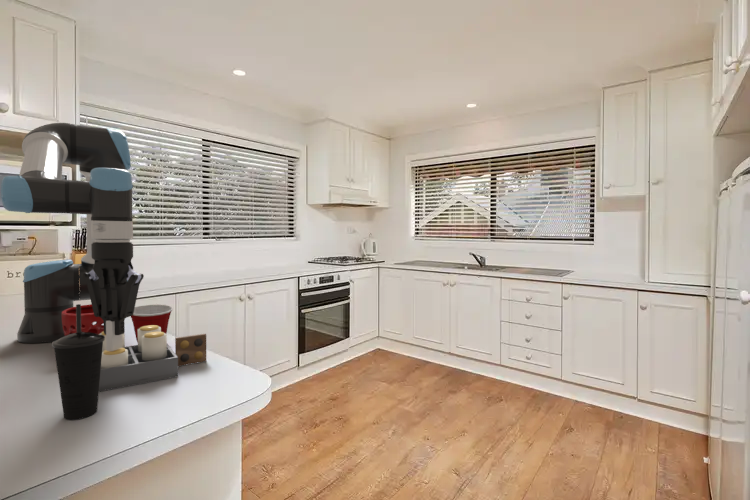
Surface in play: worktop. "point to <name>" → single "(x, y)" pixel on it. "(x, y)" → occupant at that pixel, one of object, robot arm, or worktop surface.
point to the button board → (139, 370)
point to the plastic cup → (151, 317)
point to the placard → (190, 349)
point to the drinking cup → (79, 370)
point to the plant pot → (86, 320)
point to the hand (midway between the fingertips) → (114, 349)
